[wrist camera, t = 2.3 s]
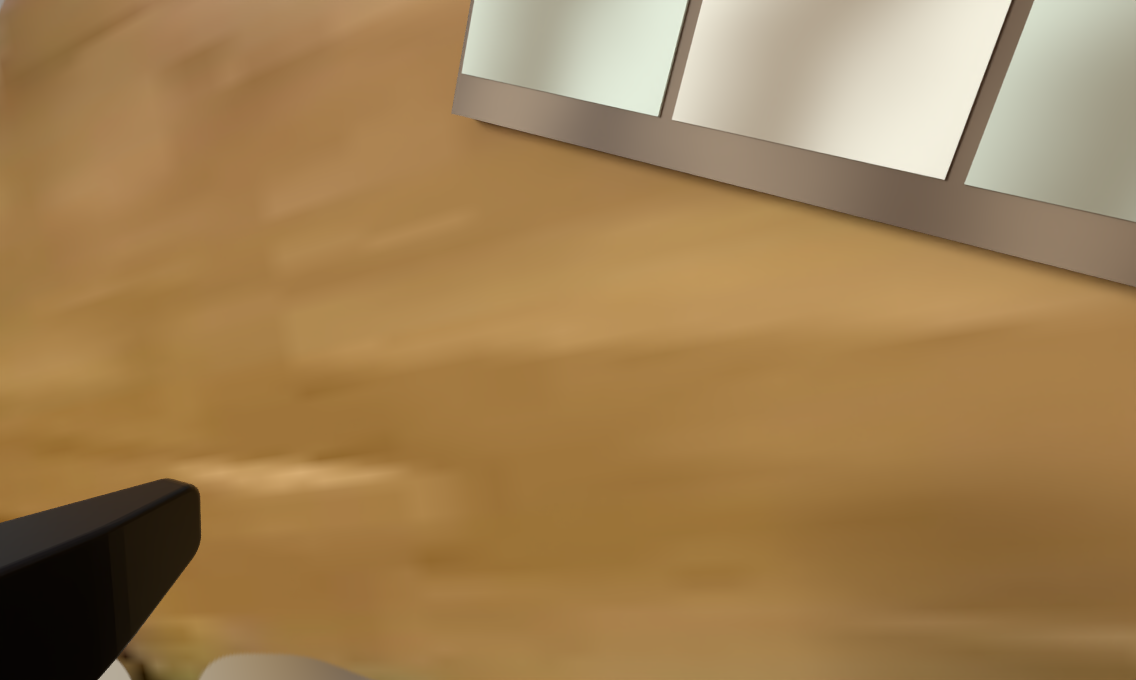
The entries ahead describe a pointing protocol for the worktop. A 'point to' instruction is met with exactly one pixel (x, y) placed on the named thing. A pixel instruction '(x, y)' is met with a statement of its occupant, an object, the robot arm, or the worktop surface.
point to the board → (846, 106)
